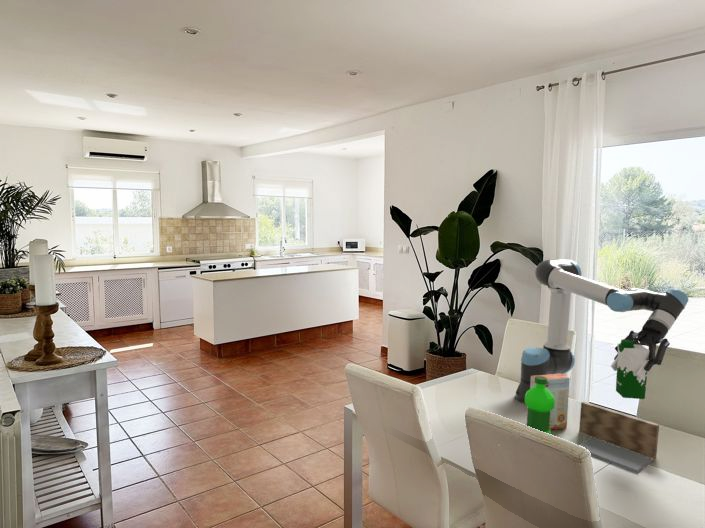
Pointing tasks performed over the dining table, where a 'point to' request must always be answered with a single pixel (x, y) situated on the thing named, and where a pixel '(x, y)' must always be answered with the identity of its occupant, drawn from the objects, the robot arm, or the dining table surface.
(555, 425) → the cracker box
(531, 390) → the plastic bottle
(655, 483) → the dining table surface
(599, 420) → the walnut screen
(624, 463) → the slate mat
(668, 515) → the dining table surface
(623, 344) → the soya milk
